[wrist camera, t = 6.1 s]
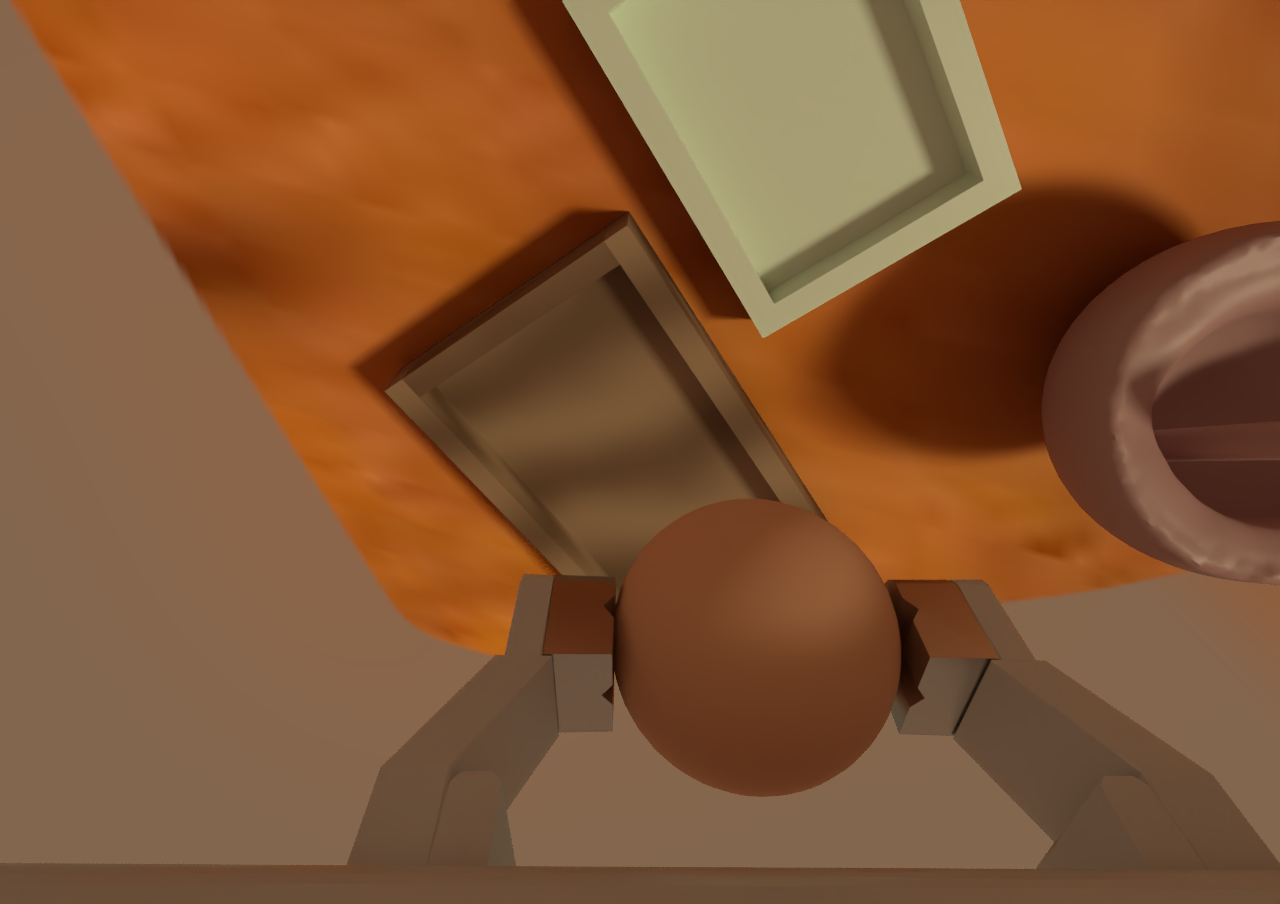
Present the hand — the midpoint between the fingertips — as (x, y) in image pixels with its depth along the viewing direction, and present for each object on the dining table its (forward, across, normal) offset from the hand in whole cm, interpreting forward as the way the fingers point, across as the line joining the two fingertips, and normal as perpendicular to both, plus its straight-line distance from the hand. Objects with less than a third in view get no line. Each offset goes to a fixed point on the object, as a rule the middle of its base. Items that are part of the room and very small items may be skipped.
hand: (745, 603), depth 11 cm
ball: (-1, 0, 0) cm, 1 cm away
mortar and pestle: (+18, -19, +3) cm, 27 cm away
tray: (+18, -4, -6) cm, 19 cm away
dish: (+18, +2, +9) cm, 20 cm away
